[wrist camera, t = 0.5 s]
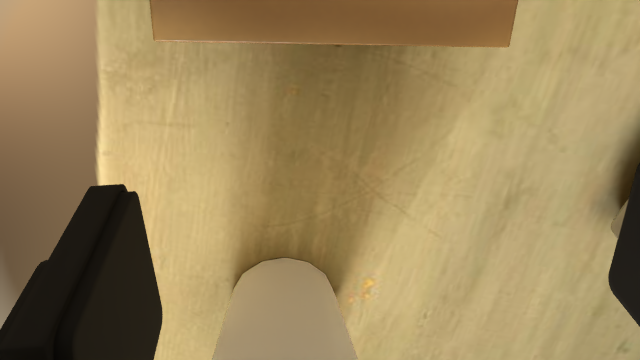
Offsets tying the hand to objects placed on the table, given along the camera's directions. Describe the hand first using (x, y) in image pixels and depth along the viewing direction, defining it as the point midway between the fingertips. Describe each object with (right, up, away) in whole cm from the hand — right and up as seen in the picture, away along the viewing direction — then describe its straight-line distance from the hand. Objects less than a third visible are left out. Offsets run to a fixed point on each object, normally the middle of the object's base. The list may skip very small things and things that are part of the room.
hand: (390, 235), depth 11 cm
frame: (-1, +11, +16) cm, 19 cm away
